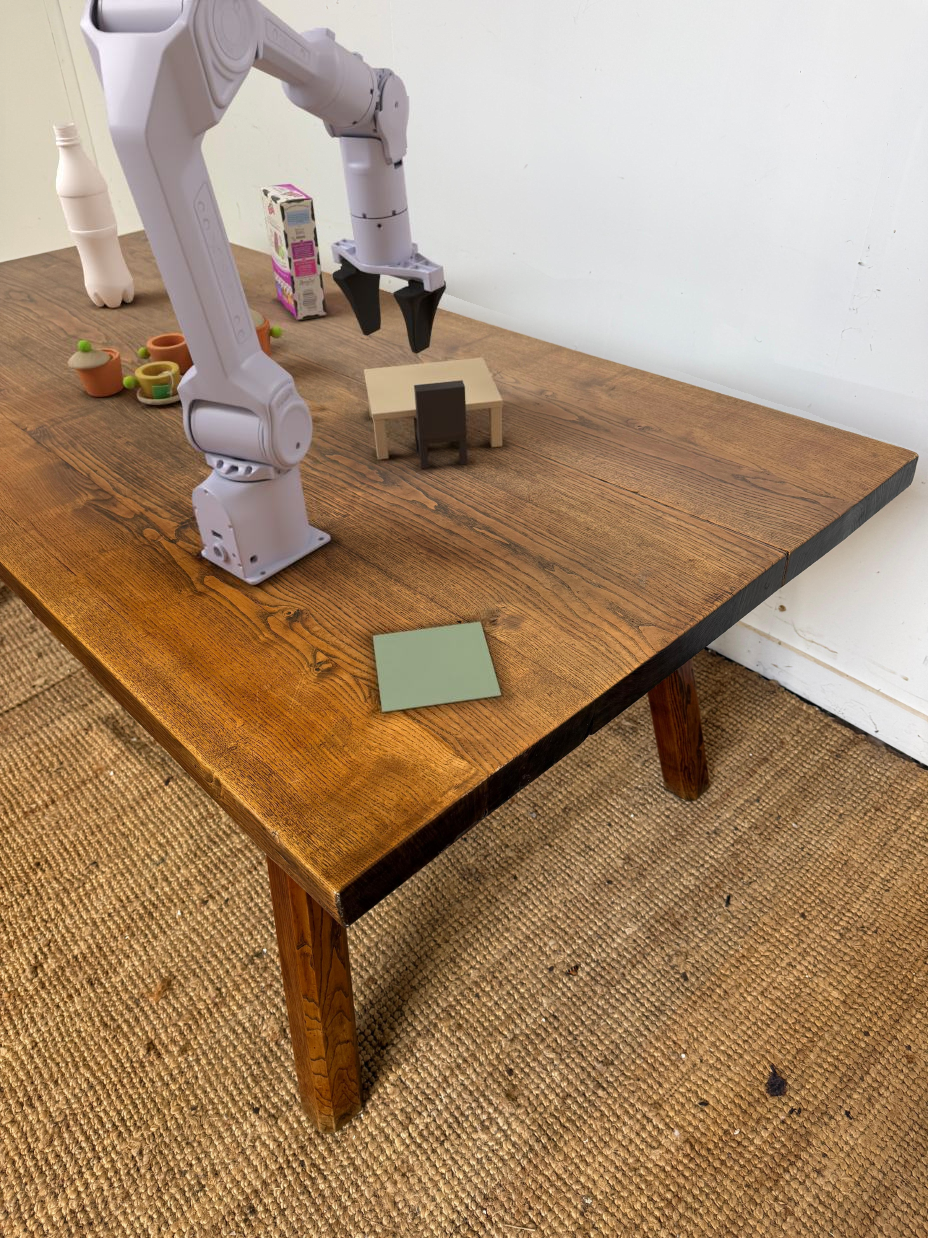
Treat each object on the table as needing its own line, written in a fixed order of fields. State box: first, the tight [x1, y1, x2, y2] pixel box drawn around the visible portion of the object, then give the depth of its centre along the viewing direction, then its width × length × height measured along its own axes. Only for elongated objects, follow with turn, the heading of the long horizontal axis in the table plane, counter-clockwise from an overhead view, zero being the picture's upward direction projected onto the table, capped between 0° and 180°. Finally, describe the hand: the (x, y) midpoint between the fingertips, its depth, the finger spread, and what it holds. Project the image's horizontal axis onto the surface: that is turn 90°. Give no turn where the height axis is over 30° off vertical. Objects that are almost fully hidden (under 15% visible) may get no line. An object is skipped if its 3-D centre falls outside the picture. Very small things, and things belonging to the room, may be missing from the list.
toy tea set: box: [67, 307, 283, 406], centre depth 112 cm, size 26×16×10 cm, turn 126°
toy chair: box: [413, 380, 468, 470], centre depth 93 cm, size 5×5×9 cm
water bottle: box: [52, 122, 135, 309], centre depth 132 cm, size 7×7×25 cm
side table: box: [363, 357, 504, 460], centre depth 99 cm, size 12×14×6 cm
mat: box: [372, 621, 502, 714], centre depth 69 cm, size 9×9×1 cm
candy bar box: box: [260, 183, 328, 321], centre depth 130 cm, size 11×5×16 cm, turn 25°
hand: (395, 340), depth 95 cm, fingers open, 7 cm apart
